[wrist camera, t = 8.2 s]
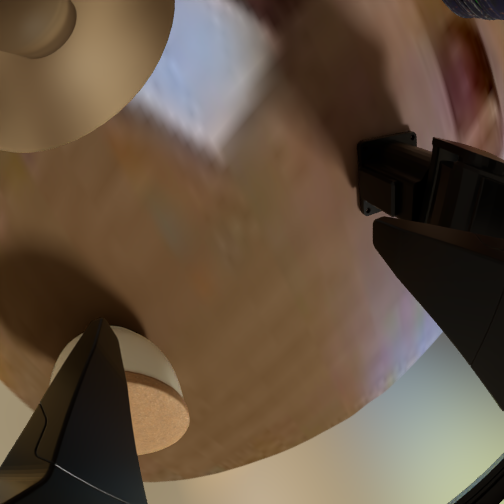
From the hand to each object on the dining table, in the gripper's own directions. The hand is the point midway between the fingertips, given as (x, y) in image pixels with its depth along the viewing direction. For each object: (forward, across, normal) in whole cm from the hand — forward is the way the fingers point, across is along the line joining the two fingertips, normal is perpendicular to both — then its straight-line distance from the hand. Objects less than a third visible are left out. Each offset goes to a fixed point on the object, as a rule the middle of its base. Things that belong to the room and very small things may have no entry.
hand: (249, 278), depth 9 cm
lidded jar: (+13, +11, +12) cm, 21 cm away
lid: (+8, +5, -11) cm, 14 cm away
